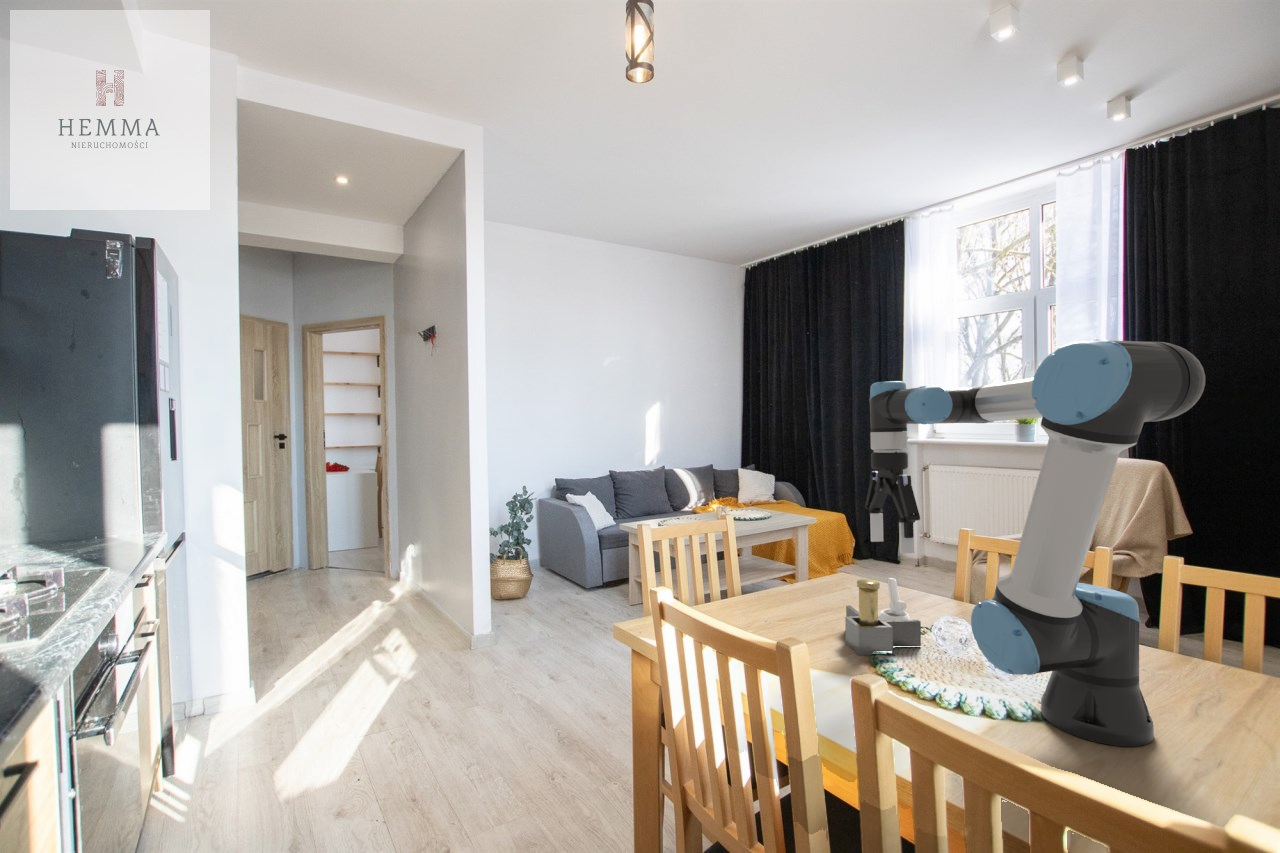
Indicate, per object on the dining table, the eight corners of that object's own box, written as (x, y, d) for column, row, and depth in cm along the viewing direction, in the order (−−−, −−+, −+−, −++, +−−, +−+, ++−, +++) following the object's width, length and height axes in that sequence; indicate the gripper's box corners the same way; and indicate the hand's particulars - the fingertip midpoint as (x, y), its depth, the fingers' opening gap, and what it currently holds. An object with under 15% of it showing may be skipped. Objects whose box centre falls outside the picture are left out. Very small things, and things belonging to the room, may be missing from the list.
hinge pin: (883, 652, 133) (883, 584, 133) (862, 652, 133) (862, 585, 132) (874, 644, 138) (874, 579, 137) (854, 644, 137) (853, 579, 137)
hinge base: (928, 653, 132) (928, 626, 132) (858, 655, 131) (858, 628, 131) (895, 628, 147) (895, 604, 147) (833, 630, 147) (832, 605, 147)
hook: (892, 589, 164) (908, 580, 158) (901, 633, 157) (918, 625, 151) (868, 584, 162) (883, 575, 157) (876, 629, 155) (892, 621, 150)
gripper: (936, 452, 121) (939, 558, 120) (879, 449, 146) (881, 536, 145) (900, 453, 120) (903, 559, 120) (849, 450, 145) (851, 537, 145)
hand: (891, 547), depth 133 cm, fingers open, 13 cm apart
